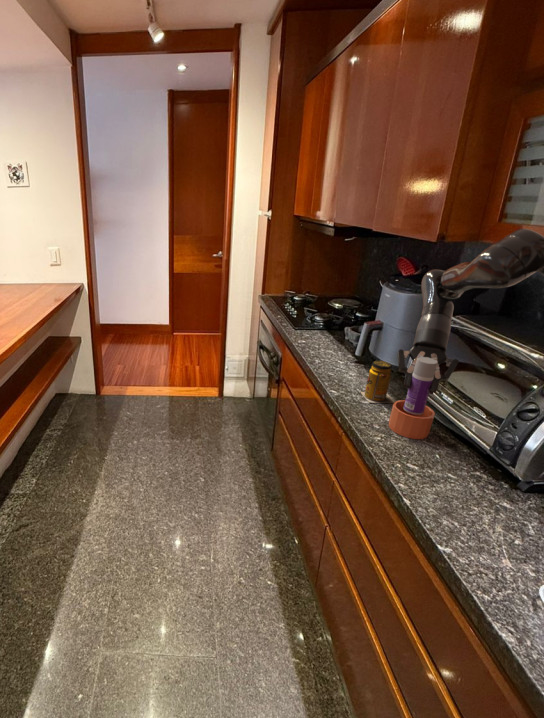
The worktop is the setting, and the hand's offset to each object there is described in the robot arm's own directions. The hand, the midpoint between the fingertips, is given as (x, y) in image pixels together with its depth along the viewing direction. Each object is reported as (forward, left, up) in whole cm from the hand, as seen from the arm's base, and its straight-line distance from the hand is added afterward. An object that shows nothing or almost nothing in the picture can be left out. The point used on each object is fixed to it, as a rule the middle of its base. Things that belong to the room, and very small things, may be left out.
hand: (419, 390), depth 101 cm
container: (0, -2, -7) cm, 8 cm away
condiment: (+5, -19, -13) cm, 23 cm away
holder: (0, -2, -13) cm, 13 cm away
